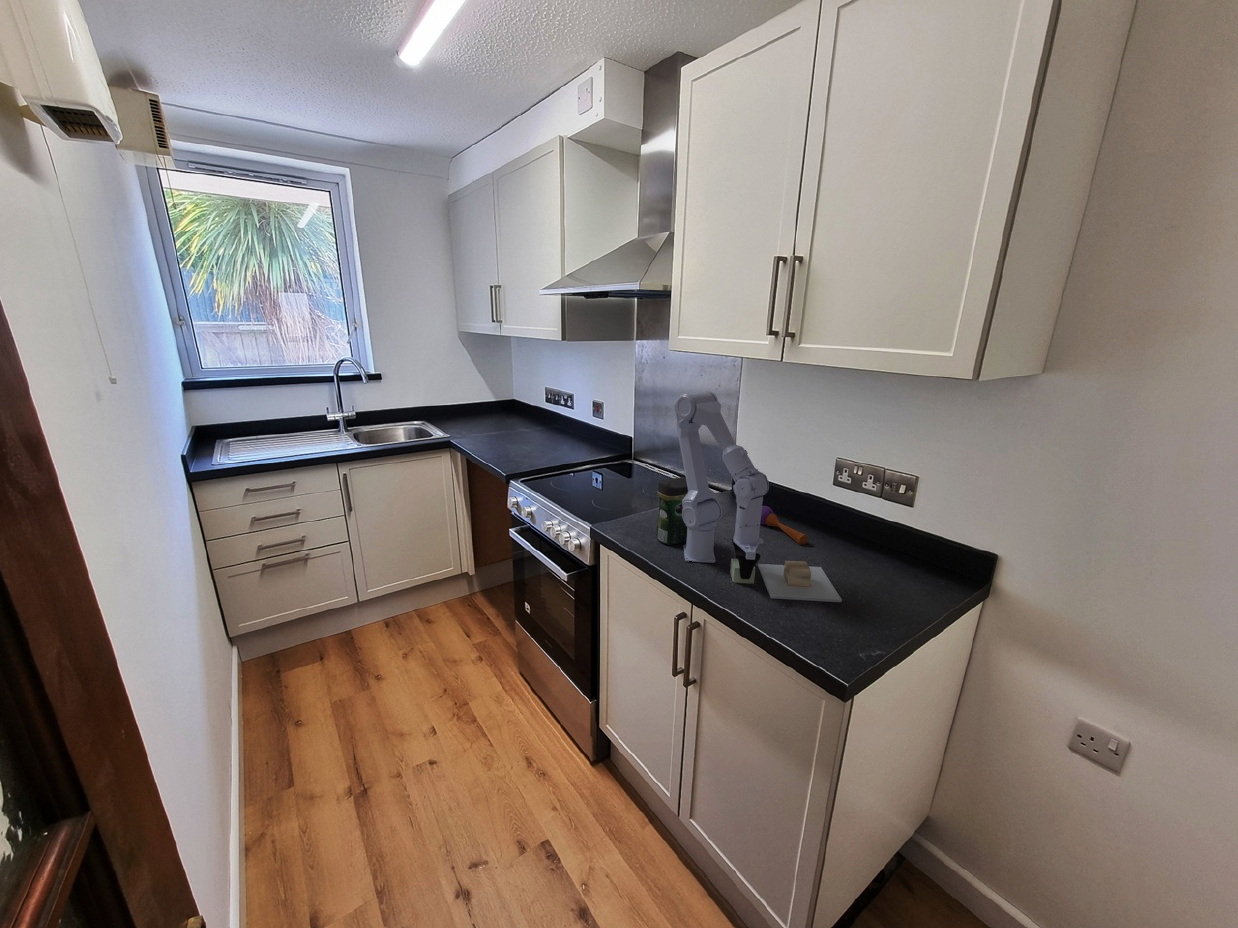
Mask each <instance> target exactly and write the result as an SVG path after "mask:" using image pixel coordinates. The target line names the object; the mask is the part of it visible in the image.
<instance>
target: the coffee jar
mask: <svg viewBox="0 0 1238 928" xmlns="http://www.w3.org/2000/svg"><path fill="white" fill-rule="evenodd" d="M657 486H658V487H657V496H658V498H659V502H658V503H659V506H658V515H657V516H658V517H657V525H656V531H655V532H656V534H655V537H656V539H657V540H658V541H659V542H660V543H662V544H665V545H668V546H671V545H672V546H673V545H678V544H682V543H685V542H687V526H686V524H685V523H684V521H683V518H682V510H683V505H682V500H683V499H684V497H685V496H686V495H687V493H688V487H687V482H686V477H684V476H679V477H675V478H670V479H668V478H667V479H661V480H660V481H658V485H657Z"/></svg>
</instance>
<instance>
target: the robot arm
mask: <svg viewBox="0 0 1238 928" xmlns="http://www.w3.org/2000/svg"><path fill="white" fill-rule="evenodd" d="M673 407H674V412H675V417H676V419H675V420H676V432H677V437H678V438H677V439H678V442H679V448H680V455H681V459H682V464H683V470H684V475H685V478H686V482H687V487H688V493H687V495H686V496H685V497H684V499H683V500H682V505H683V510H682V518H683V521H684V523H685V524H686V526H687V541H686V543H685V544H683V555H684V561H685V562H689V561H692V562H693V563H710V564H712V563H713V564H714V563H716V557H715V553H714V542H715V531H716V530H715V529H716V526H717V525H718V524H717V523H718V521H719V520H721V518H722V516H723V508H722V505H721V504H720V502H719V499H718V496H717V493H716V492H714V491H713V490H711V488H710V487H709V482H708V476H707V471H706V464H705V460H704V454H703V448H702V444H701V437H700V433H699V432H700V431H699V430H700V428H702V426H705V427H706V428H707V429H708V430H709V432H710V433H711V435H712V436H713V438H714V440H715V441H716V442H717V444H718V445H719V447H720V449H721V450H722V456H721V460H722V461H723V463H724V465H725V467H726V468H727V470H728V472H729V474H730V475H731V477H732V480H733V482H734V483H735V484H733V485H732V487H733V492H734V495H735V497H736V498H735V503H736V515H735V516H736V518H735V526H734V527H735V528H734V535H733V538H732V539H731V542H732V545H733V549H734V553H735V559H738V561H739V570H740V577H741V579H750V577H751V574H752V571H753V568H754V567H756V564H757V563H758V562H759V561H760V560H761V554H760V553H756V551H757V549H758V546H759V545H760V544H762V545H763V544H764V539H763V538H762V537H760V529H761V524H760V521H761V511H762V506H763V501H764V495H765V496H766V495H767V493H768V492H769V489H770V482H769V480H768V478H767V475H766V474H765V473H763V472H761V471H759V469H758V468H756V467H755V466H754V464H753V462H752V460H751V458H750V456H749V455H748V454H749V452H748V451H747V449H745V448H744V447H743V446H741V445H739V444H737V443H736V442H735V440H734V438H733V436H732V435H733V434H731V432H730V429H729V427H728V425H727V423H726V421H725V419H724V417H723V415H722V412H721V409H722V404H721V403H720V401H719V399H718V397H717V396H716V394H715V393H714V392H712V391H710V390H709V391H705V392H696V393H683V394H680V395H679V397H678V398H677V399H676V401H675V402H674V405H673ZM692 562H691V563H692Z"/></svg>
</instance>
